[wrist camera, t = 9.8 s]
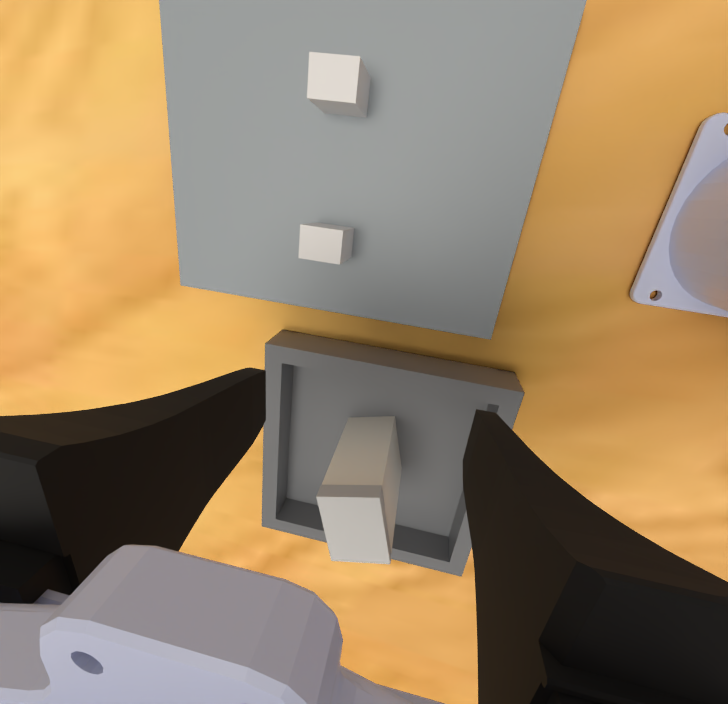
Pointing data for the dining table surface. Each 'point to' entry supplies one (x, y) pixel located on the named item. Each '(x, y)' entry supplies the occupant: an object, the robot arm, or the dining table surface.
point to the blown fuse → (362, 491)
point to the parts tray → (376, 399)
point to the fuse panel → (361, 148)
